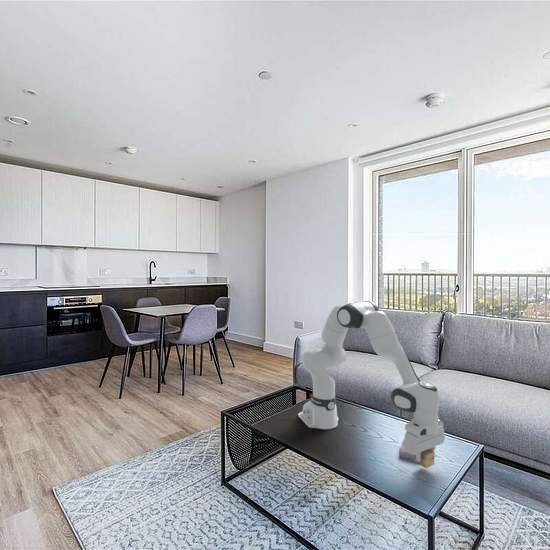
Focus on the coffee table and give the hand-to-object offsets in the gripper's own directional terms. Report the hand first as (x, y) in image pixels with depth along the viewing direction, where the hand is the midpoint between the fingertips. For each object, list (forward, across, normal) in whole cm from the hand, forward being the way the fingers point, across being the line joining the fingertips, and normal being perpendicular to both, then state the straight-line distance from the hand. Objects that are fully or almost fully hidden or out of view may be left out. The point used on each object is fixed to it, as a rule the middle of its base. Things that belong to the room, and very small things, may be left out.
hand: (424, 458), depth 137 cm
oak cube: (+2, 0, 0) cm, 2 cm away
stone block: (+5, -6, -10) cm, 12 cm away
